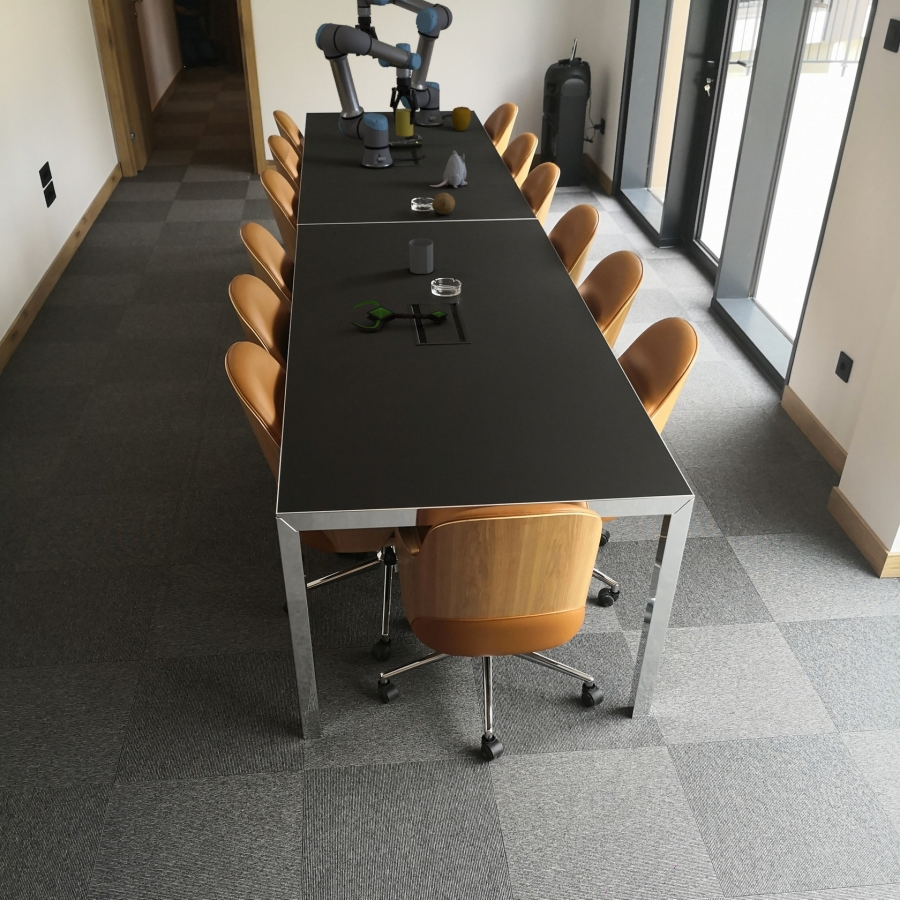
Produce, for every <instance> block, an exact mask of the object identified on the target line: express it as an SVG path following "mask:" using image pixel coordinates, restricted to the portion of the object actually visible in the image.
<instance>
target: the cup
mask: <svg viewBox="0 0 900 900" xmlns="http://www.w3.org/2000/svg"><path fill="white" fill-rule="evenodd" d="M408 253H409V272H411V273H412V274H416V275H426V274H430V273H432V272H434V241H433V240H431V239H428V238H422V237H421V238H420V237H419V238H414V239H411V240H410V241H409V242H408Z"/></svg>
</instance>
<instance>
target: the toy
mask: <svg viewBox="0 0 900 900" xmlns="http://www.w3.org/2000/svg"><path fill="white" fill-rule="evenodd" d="M466 178H467V168H466V156H465V153H463V154H462V155H459V154H458V153H457V151H456V150H455V149H453V150H452V153H451V155H450V156H449V158H448V161H447V163H446V166H445V170H444V171H443V177H442V179H443V181H442V182H441V183H439V184H436V185H435V184H433V185H432V184H430V185H428V186H429V187H434V188H440V187H443V186H446V187H448V186H449V185H451V186H453V188H455V189H459V187H458V186H461V187H462V186H467V185H468V182H467V181H465V180H466Z"/></svg>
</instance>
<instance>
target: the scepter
mask: <svg viewBox="0 0 900 900" xmlns="http://www.w3.org/2000/svg"><path fill="white" fill-rule="evenodd" d="M364 305H374V306H375V308H373V309H370V310H368V311H366V312H365V313H366V314H367V315H368V316H366V317H365V318H366V319H367V320H369V321H371V322H373V323H375V325H374V326H363V325H361V324H358V323H357V322H353V321H351V322H350V324H352V325H353V326H355V327H356V328H358V329H359V330H361V331H364V332H377V331H379V330H380V329H381V327H382V326H383V325H385V324H387V323H390V322H392V321H394V320H397V319H404V320H406V319H407V320H408V319H409V320H413V319H416V320H430V321H432V322H434V323H436V324H442V323H443V322H446V321H448V318H447V316H449V314H448V313H447V312H445V311H441V310H439V309H438V310H436V311H433V312H430V313H403V312H401V313H396V312H395V311H392V310H391V309H389V308H387V307H385V306H383V305H382V303H381V302H380V301H379V300H378V299H377V300H376V299H365V300H362V301H360V302H358V303H356V304H354V305H352V306H351V309H354V308H358V307H361V306H364Z"/></svg>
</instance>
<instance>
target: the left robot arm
mask: <svg viewBox="0 0 900 900" xmlns="http://www.w3.org/2000/svg"><path fill="white" fill-rule="evenodd" d="M314 39H315V40H314V41H315V45H316V47H317V49H318V50H320V51H322V52H323V55H324V58H325V60H326V61H329V65H330V66H329V67H330V68H331V69H330V70H331V72H332V76H333V81H334V84H335V87H336V92H337V95H338V100H339V103H340V107H341V111H340V114H339V115H340V116H339V118H338V120H339V121H338V129H339V131H340V133H341V134H342V135H343V136H344V137H345V138H349V139H351V140H357V141H363V142H364V151H363V155H362V159H361V166H362V167H363V168H366V169H371V170H381V169H387V168H390V167H392V166H394V161H416V160H421V159H422V158H424V157H425V156H426V155H425V154H422V155H421V156H418V157H414V158H413V157H412V158H392V155H391V152H390V151H391V150H390V147H389V145H390V144H389V123H388V118H387V117H386V116H385V115H383V114H381V113H375V112H368V113H365V109H364V107H362V106H361V105H360V104H359V103H360V102H359V98H358V94H357V91H356V86H355V81H354V79H353V74H352V71H351V67H350V66H351V65H350V62H349V59H348V56H349V54H350V55H356V54H359V55H360V56H362V57H365V56H369V57H371V58H372V57H375V58H376V59H377V62H378V64H379V66H380V67H382V68H395V76H396V77H395V78H396V79H395V80H396V81H395V83H396V86H393V87H391V95H390V101H389V108H392V115H393V117H394V123H395V124H396V115H395V110H396V109H399V108H398V107H399V105H400V103H401V100H400V99H401V97H402V96H404V97H406V99H407V101H408V103H409V106H410V108H411V111H410V125H413V126H414V125H415V118H416V117H417V115H416V112H417V111H419V110H420V108H419V107H418V101H417V96H416V89H415V90H413V89H411V74H412V70H417V69H419V67H420V65H421V57H420V56H419V54H416V52H412V50H411V44H410V43H408V42H398V43H396V44H395V45H392V44H389V43H387V42H384V41H381V40H379V39H378V40H376V39H374V38H372V37H371V36H370V35H369V34H367V33H365V32H363V31H360V29H359V30H358V29H356V28H355V26H351V25H348V24H339V23H333V22H329V23H327V22H325V23H322V24H321V25H319V27H318V28H317V30H316V33H315V37H314ZM410 92H411V94H412V98H411V94H410ZM412 100H413V101H412Z"/></svg>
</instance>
